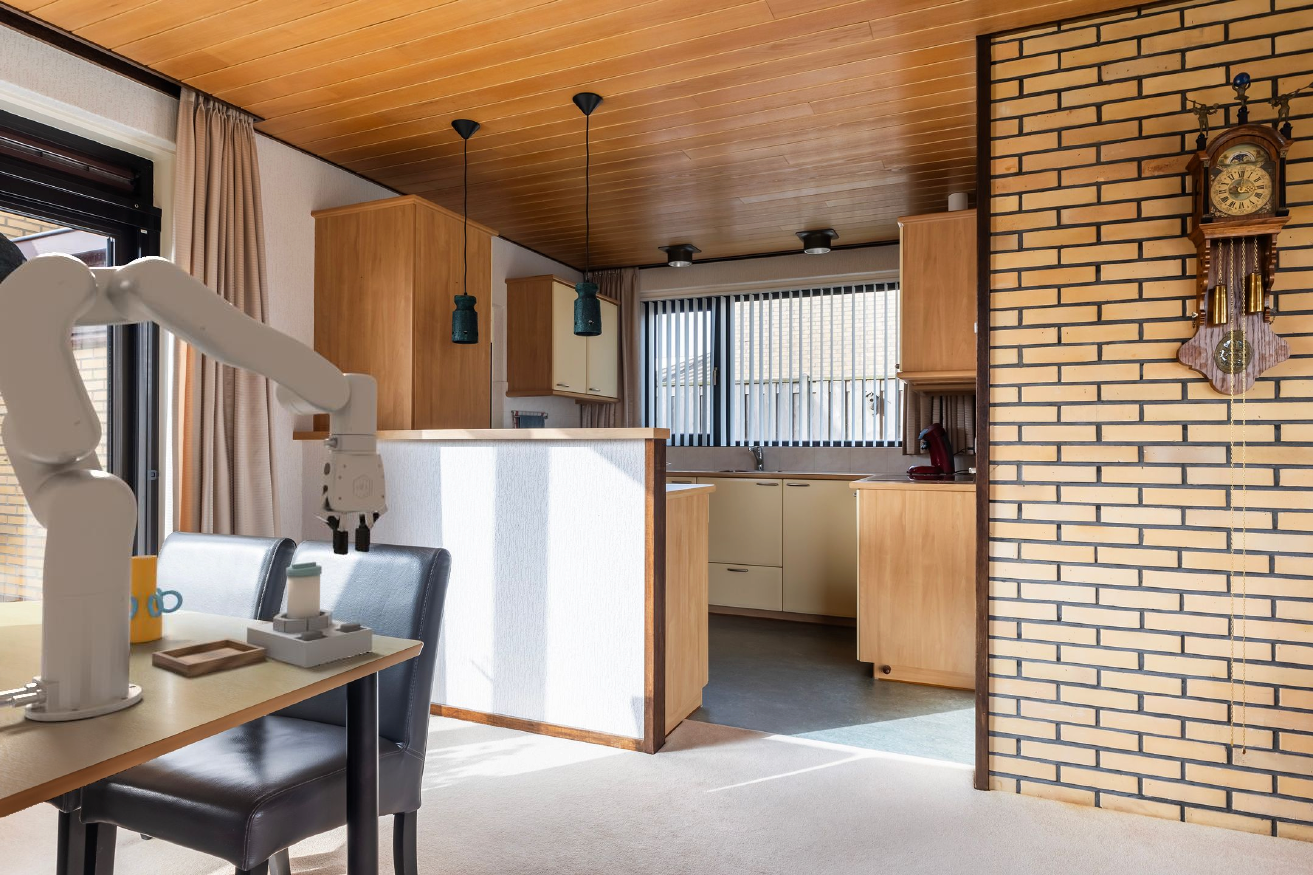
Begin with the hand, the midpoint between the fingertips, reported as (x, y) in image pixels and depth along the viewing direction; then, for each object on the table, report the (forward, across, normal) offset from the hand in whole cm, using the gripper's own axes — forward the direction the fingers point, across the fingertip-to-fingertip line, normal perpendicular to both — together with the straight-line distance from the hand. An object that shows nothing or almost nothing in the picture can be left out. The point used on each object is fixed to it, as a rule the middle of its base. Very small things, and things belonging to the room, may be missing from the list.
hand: (351, 551), depth 129 cm
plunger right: (+16, 0, 0) cm, 16 cm away
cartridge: (+13, -4, +8) cm, 16 cm away
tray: (+17, -16, +14) cm, 27 cm away
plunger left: (+16, -7, 0) cm, 17 cm away
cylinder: (+17, -16, +38) cm, 45 cm away
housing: (+17, -4, +6) cm, 18 cm away
